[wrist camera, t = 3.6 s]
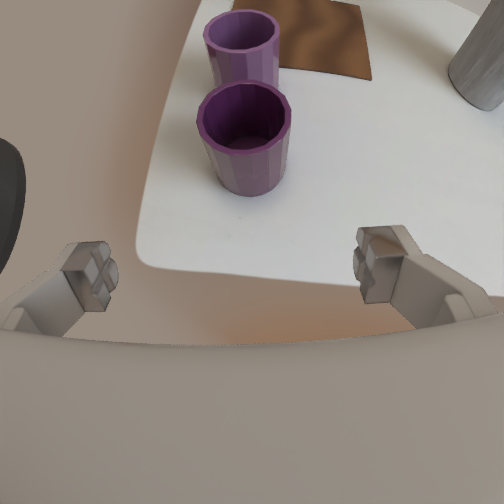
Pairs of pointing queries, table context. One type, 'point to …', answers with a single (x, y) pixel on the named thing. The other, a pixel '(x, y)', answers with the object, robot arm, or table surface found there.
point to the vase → (482, 60)
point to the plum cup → (246, 135)
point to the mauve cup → (243, 47)
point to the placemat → (318, 35)
